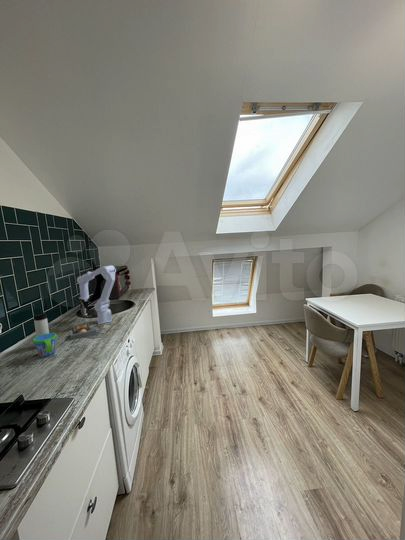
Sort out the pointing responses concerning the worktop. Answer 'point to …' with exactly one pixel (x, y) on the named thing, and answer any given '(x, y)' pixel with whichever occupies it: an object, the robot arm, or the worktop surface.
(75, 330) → the rails
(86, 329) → the brown square block
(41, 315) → the travel mug
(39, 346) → the snack cup
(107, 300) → the robot arm
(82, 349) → the worktop surface
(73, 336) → the tray
